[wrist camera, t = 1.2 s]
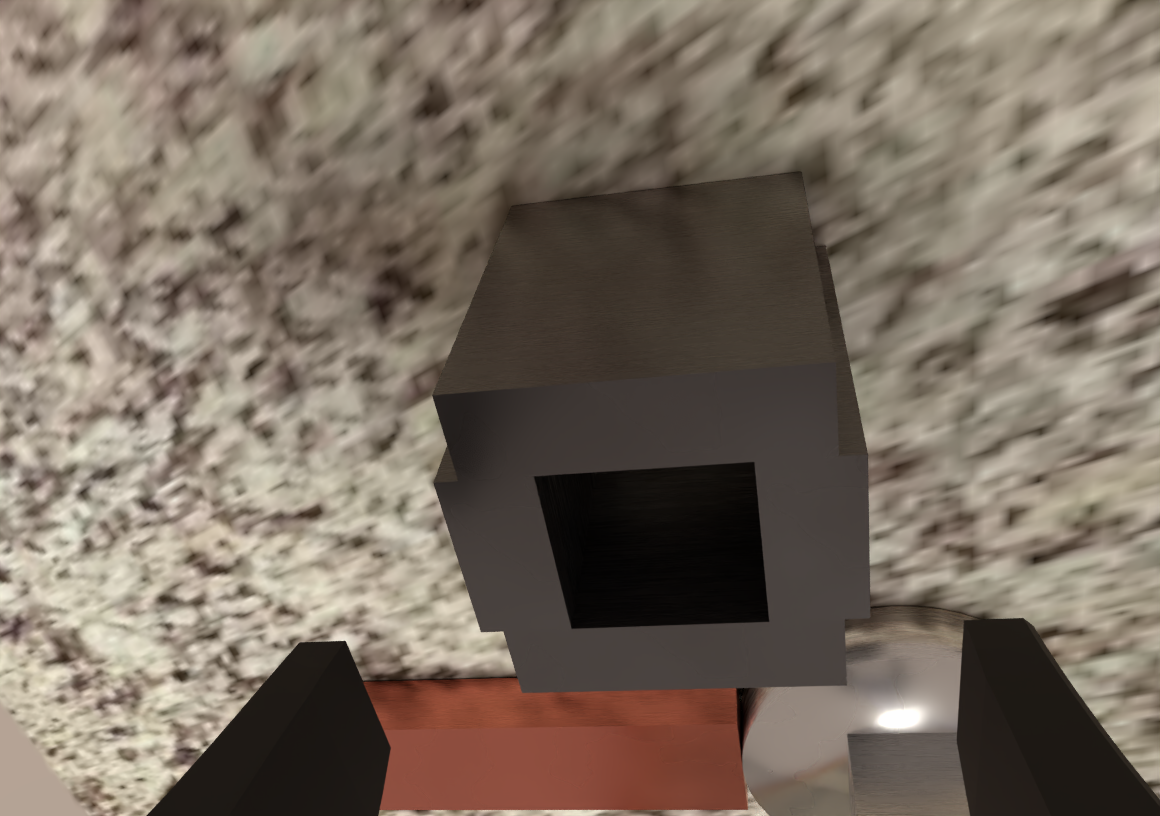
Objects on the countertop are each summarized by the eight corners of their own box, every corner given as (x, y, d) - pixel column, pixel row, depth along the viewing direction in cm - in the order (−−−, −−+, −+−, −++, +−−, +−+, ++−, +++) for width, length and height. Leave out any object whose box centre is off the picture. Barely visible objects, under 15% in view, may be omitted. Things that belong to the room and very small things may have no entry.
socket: (833, 444, 20) (871, 685, 15) (552, 462, 21) (500, 693, 16) (822, 169, 17) (866, 359, 12) (492, 207, 18) (406, 397, 13)
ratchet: (1041, 803, 25) (1088, 966, 22) (331, 805, 29) (282, 944, 26) (1068, 599, 21) (1131, 759, 18) (243, 630, 25) (172, 768, 22)
